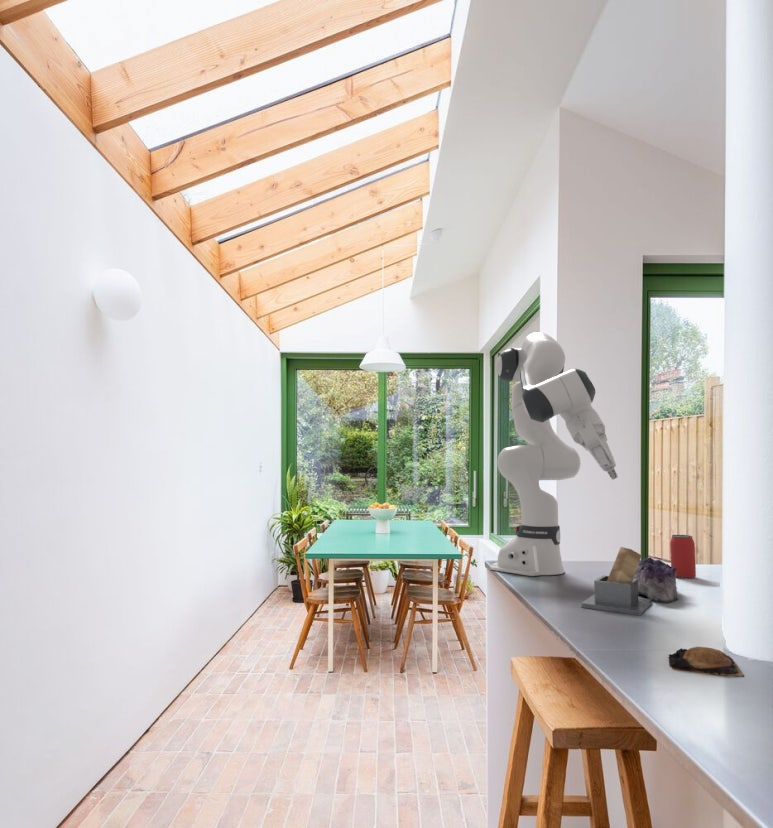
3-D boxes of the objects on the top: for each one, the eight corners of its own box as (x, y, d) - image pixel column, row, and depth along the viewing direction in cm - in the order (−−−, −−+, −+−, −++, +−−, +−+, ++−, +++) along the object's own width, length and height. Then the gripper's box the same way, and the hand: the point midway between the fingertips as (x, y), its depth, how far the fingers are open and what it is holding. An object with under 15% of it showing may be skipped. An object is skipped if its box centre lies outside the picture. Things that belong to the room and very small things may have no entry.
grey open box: (581, 607, 141) (580, 581, 142) (596, 596, 152) (595, 572, 152) (640, 615, 134) (639, 588, 134) (651, 603, 145) (650, 578, 145)
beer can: (669, 577, 177) (667, 536, 178) (673, 574, 182) (671, 533, 183) (694, 580, 173) (692, 537, 174) (697, 576, 178) (696, 535, 179)
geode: (695, 605, 144) (688, 563, 145) (645, 610, 146) (638, 568, 147) (671, 584, 164) (665, 547, 165) (627, 588, 166) (621, 552, 167)
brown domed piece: (735, 665, 104) (734, 643, 104) (746, 682, 96) (745, 658, 96) (666, 658, 107) (665, 636, 108) (671, 673, 99) (670, 650, 99)
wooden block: (602, 592, 144) (620, 546, 146) (613, 598, 145) (631, 552, 147) (612, 596, 141) (630, 549, 143) (623, 602, 142) (641, 555, 144)
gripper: (587, 406, 153) (612, 450, 145) (606, 438, 169) (630, 479, 160) (564, 418, 155) (588, 462, 147) (585, 448, 170) (608, 489, 162)
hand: (610, 471), depth 154 cm, fingers open, 8 cm apart
